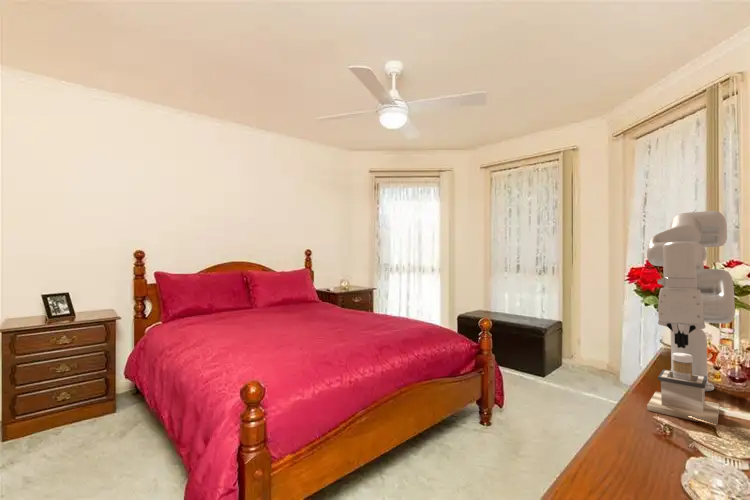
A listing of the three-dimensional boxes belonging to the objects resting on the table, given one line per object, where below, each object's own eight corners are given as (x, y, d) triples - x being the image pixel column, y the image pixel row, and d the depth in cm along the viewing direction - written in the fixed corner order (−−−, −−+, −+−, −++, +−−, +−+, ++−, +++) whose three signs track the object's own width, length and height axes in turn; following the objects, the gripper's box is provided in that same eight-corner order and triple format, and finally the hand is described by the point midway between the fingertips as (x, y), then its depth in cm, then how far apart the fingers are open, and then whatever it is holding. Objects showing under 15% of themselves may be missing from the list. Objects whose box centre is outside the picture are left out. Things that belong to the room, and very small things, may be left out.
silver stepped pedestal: (655, 396, 120) (654, 366, 120) (719, 408, 110) (718, 376, 110) (647, 410, 109) (646, 377, 109) (717, 425, 99) (716, 389, 99)
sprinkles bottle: (695, 401, 109) (695, 354, 109) (689, 404, 106) (689, 357, 107) (676, 396, 113) (675, 351, 113) (670, 399, 110) (669, 353, 110)
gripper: (646, 283, 113) (647, 345, 112) (713, 285, 102) (715, 353, 102) (650, 282, 118) (652, 341, 118) (715, 284, 108) (716, 349, 107)
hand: (681, 347), depth 110 cm, fingers closed
